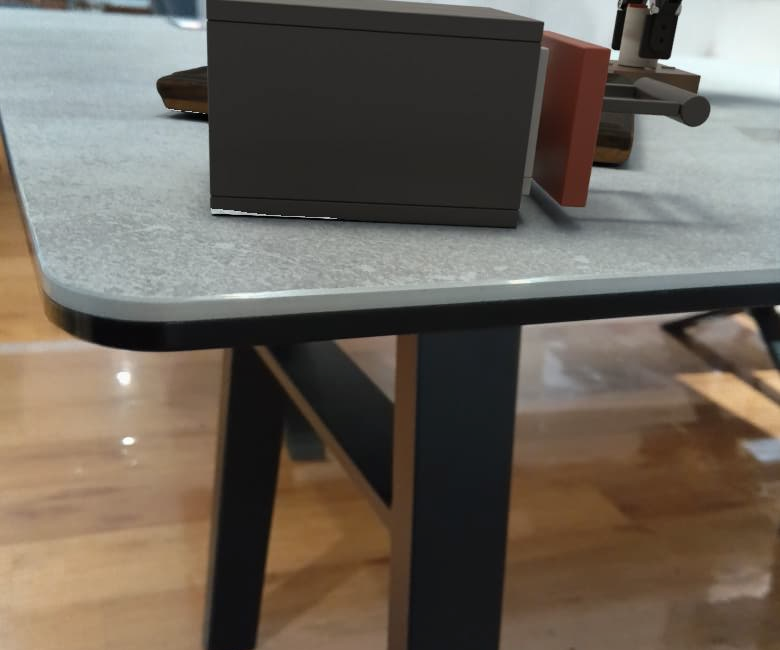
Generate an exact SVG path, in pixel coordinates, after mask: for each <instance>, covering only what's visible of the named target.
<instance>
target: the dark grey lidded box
mask: <svg viewBox="0 0 780 650" xmlns="http://www.w3.org/2000/svg"><path fill="white" fill-rule="evenodd" d="M205 18H206V22H205V23H206V24H205V25H206V64H207V65H206V66H207V75H208V115H207V116H208V166H209V167H208V169H209V173H208V174H209V196H210V197H209V209H210V208H212V209H223V210H234V211H241V212H247V213H257V214H266V215H281V216H305V217H330V218H337V219H347V220H346V221H350V220H359V221H358V222H373V221H377V222H376V223H396V222H397V223H398V224H420V225H421V224H422V225H445V226H446V225H447V226H468V227H493V228H513V229H516V228H518V226H519V217H520V208H521V201H522V196H523V195H522V187H523V180H524V172H525V165H526V157H527V150H528V142H529V135H530V127H531V120H532V112H533V105H534V97H535V90H536V82H537V75H538V67H539V60H540V52H541V43H540V42H542V38H543V30H544V28H545V21H544V20H539V19H536V18H532V17H528V16H524V15H519V14H516V13H512V12H508V11H504V10H501V9H496V8H493V7H489V6H474V5H463V4H462V5H461V4H446V3H433V2H432V3H431V2H420V1H419V2H418V1H403V0H205ZM379 221H380V222H379Z"/></svg>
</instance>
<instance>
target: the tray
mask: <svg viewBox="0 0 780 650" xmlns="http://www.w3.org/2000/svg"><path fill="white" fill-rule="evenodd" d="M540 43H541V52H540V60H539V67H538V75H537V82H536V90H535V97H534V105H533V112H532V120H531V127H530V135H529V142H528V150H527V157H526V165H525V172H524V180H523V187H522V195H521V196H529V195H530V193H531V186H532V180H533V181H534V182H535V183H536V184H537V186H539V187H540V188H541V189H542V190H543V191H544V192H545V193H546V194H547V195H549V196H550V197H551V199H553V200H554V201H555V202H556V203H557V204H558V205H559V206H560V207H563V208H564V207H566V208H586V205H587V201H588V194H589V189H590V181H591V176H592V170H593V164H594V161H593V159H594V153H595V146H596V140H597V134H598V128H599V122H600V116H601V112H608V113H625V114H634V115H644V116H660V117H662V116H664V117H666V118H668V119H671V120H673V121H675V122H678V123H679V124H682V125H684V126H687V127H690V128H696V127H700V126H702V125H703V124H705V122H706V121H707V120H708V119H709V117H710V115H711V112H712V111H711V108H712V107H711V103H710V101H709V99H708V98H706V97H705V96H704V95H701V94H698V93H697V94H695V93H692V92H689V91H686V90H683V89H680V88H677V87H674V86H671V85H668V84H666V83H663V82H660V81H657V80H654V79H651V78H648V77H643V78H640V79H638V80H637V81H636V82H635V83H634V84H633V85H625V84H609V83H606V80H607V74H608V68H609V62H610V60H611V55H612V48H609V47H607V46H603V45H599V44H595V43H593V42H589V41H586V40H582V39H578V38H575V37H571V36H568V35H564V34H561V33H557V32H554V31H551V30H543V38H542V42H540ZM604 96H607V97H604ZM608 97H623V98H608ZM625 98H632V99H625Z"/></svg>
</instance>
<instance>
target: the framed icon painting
mask: <svg viewBox="0 0 780 650" xmlns="http://www.w3.org/2000/svg"><path fill="white" fill-rule="evenodd" d="M606 83H609V84H625V85H633V83H632V80H631V79H630V78H628V77H625V76H624V75H622V74H617V73H608V74H607V80H606ZM155 87H156V91H157V93H158V95H159V96H160V98H161V101H162V103H163V105H164V107H165V108H166V109H167V108H168V109H174V110H181V111H192V112H199V113H205V114H208V75H207V65H202V66H198V67H194V68H188V69H185V70H179V71H174V72H172V73H171V74H168V75H164V76H161V77H160V78H158V79H157V80H156V83H155ZM604 97H607V96H604ZM608 98H623V97H608ZM625 99H632V98H625ZM168 109H167V110H168ZM634 138H635V114H625V113H608V112H601V116H600V122H599V128H598V134H597V140H596V146H595V153H594V159H593V162H596V163H606V164H623V163H625V162H627V161H628V160H629V159H630V156H631V153H632V150H633V145H634V140H635V139H634Z"/></svg>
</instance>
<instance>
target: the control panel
mask: <svg viewBox="0 0 780 650" xmlns="http://www.w3.org/2000/svg"><path fill="white" fill-rule="evenodd" d="M608 73H617V74H622V75H624V76H625V77H628V78H630V79H631V80H632V83H633V84H634V83H635V82H636V81H637V80H638V79H640V78H643V77H648V78H651V79H654V80H657V81H660V82H663V83H666V84H668V85H671V86H674V87H677V88H680V89H683V90H686V91H689V92H692V93H695V94H698V92H699V89H700V83H701V79H702V75H700V74H697V73H693V72H690V71H688V70H683V69H680V68H677V67H676V66H670V65H666V64H663V63H659V62H658V63H657V67H656V68H648V67H645V68H641V67H631V66H624V65H620V64H618V59H610V62H609V68H608Z"/></svg>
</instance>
